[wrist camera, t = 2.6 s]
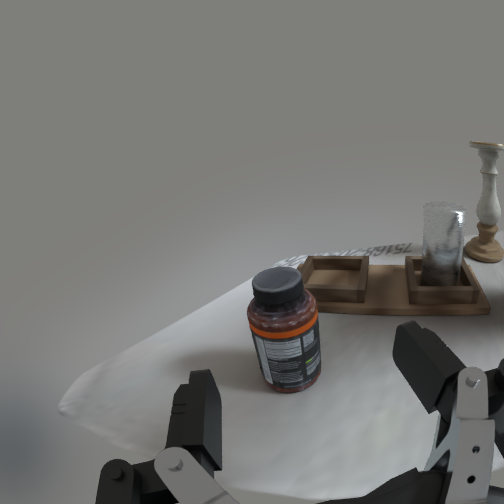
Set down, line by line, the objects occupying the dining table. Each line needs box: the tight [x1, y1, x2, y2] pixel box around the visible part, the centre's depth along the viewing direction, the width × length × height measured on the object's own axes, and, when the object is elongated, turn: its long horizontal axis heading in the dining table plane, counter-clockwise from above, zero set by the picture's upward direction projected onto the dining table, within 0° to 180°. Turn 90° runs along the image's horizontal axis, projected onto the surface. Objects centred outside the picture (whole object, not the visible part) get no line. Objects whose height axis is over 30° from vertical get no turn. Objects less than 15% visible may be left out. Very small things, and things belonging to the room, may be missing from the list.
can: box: [420, 202, 466, 287], centre depth 29 cm, size 6×6×11 cm
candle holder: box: [466, 141, 504, 263], centre depth 32 cm, size 9×9×20 cm
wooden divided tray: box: [297, 256, 491, 315], centre depth 34 cm, size 30×12×3 cm, turn 65°
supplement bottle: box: [247, 267, 321, 393], centre depth 23 cm, size 6×6×11 cm
